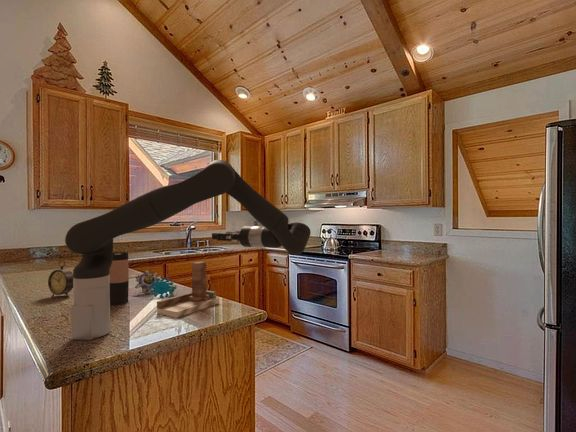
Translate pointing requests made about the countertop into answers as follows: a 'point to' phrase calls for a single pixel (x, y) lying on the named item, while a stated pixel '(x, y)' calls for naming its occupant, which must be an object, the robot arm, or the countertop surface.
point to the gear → (162, 287)
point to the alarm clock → (61, 281)
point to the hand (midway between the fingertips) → (220, 235)
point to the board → (184, 304)
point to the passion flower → (146, 281)
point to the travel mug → (119, 279)
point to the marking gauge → (198, 282)
